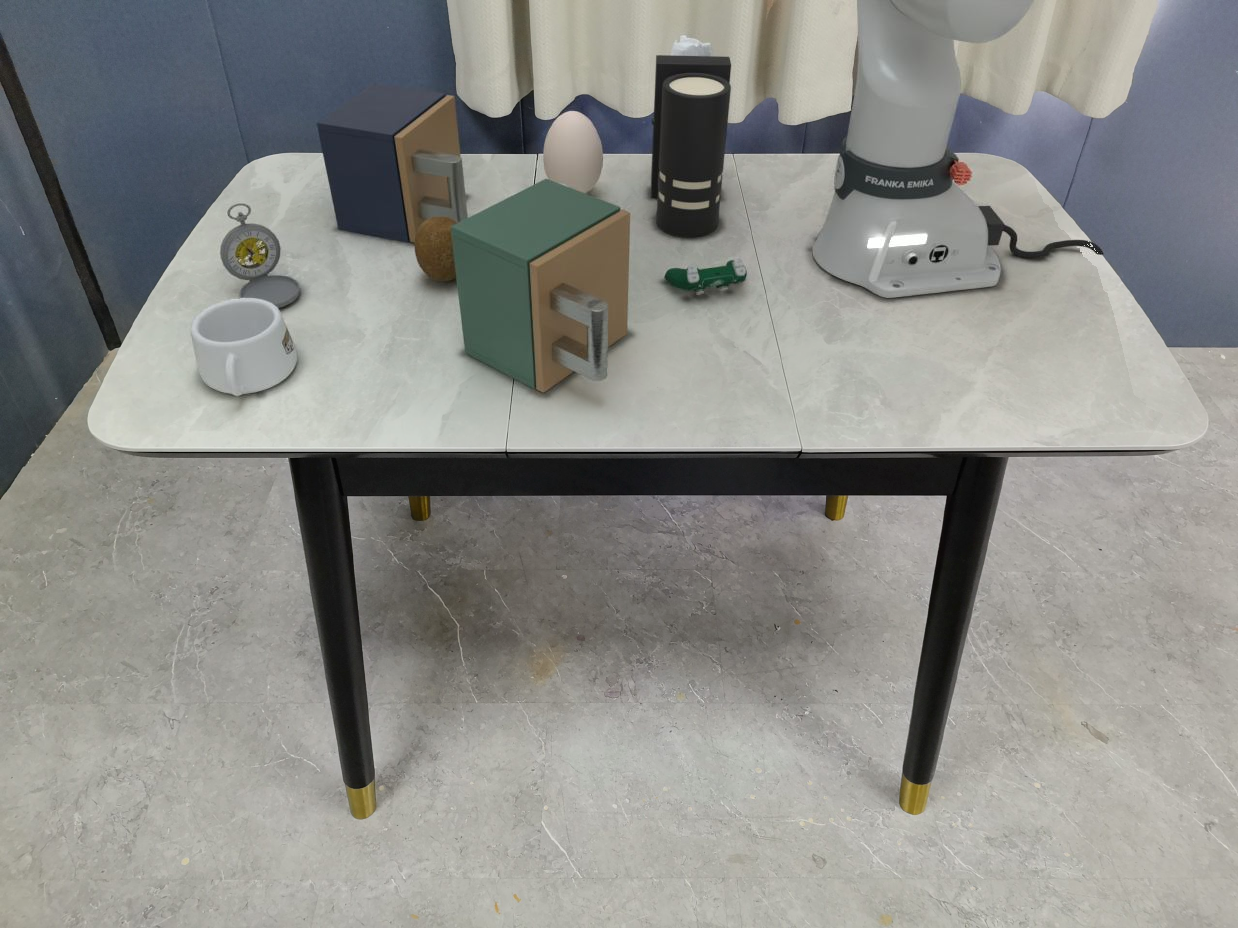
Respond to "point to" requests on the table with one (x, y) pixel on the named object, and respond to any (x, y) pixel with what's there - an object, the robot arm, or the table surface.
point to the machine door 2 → (580, 302)
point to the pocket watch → (257, 262)
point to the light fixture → (689, 141)
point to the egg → (573, 152)
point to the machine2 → (514, 268)
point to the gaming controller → (707, 276)
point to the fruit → (436, 248)
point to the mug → (242, 346)
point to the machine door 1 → (432, 167)
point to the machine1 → (371, 158)
